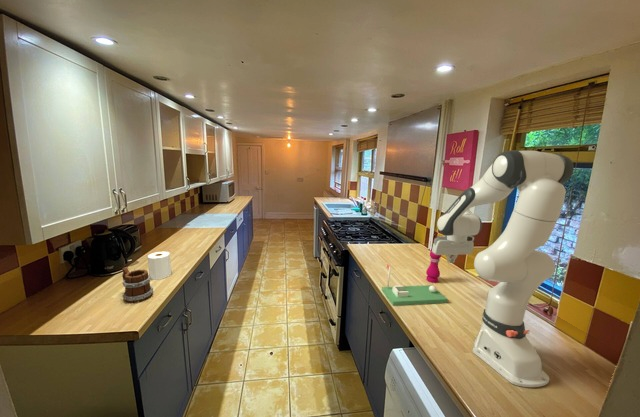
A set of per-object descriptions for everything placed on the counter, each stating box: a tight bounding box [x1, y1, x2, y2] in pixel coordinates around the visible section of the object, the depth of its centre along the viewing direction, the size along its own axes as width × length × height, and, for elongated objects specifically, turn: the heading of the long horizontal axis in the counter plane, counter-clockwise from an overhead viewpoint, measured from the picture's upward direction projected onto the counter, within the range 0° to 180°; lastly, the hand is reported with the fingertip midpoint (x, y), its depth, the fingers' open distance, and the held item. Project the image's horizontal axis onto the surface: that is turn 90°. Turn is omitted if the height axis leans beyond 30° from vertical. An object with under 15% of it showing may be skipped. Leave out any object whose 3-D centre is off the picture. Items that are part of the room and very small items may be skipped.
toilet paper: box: [147, 251, 172, 280], centre depth 142 cm, size 10×10×12 cm
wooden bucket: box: [121, 267, 154, 304], centre depth 121 cm, size 12×14×15 cm
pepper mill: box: [425, 250, 442, 284], centre depth 148 cm, size 7×7×20 cm
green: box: [381, 263, 449, 306], centre depth 130 cm, size 16×28×14 cm, turn 98°
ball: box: [429, 285, 437, 292], centre depth 132 cm, size 3×3×3 cm
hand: (450, 262), depth 130 cm, fingers closed
